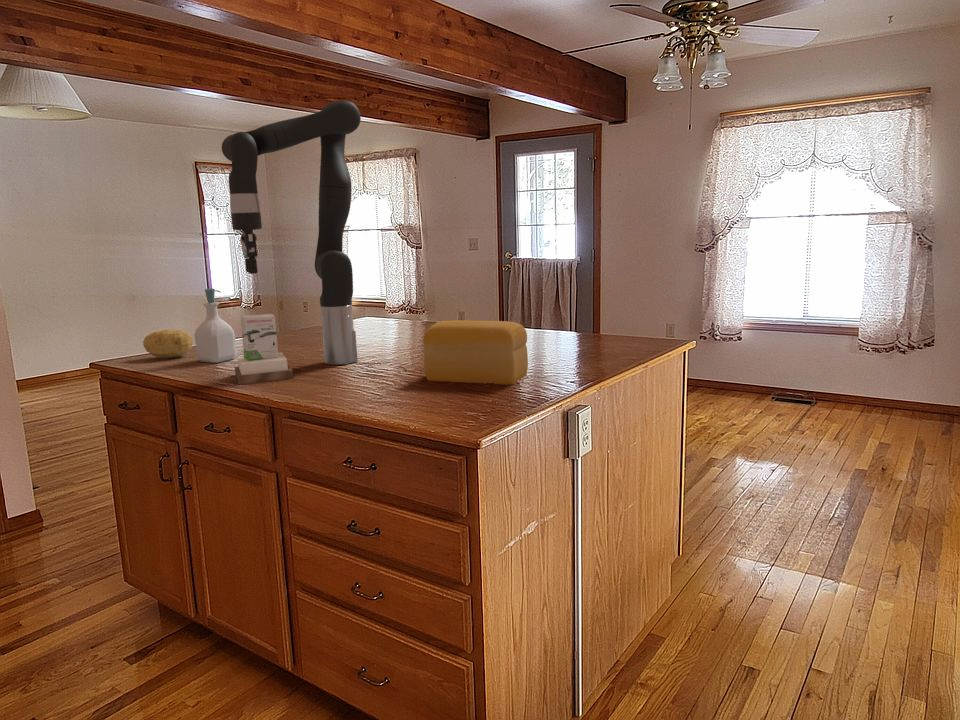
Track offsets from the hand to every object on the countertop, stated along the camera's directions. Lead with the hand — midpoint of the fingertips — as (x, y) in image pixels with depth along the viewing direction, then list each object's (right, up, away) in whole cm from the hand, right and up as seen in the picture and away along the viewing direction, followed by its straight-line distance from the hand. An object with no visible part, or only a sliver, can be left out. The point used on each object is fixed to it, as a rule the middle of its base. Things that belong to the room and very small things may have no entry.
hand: (251, 272), depth 186 cm
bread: (+61, -28, -6) cm, 68 cm away
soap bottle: (-21, -24, +31) cm, 45 cm away
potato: (-40, -23, +40) cm, 61 cm away
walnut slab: (+2, -29, +5) cm, 29 cm away
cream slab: (+2, -26, +4) cm, 26 cm away
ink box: (+2, -23, +4) cm, 24 cm away
